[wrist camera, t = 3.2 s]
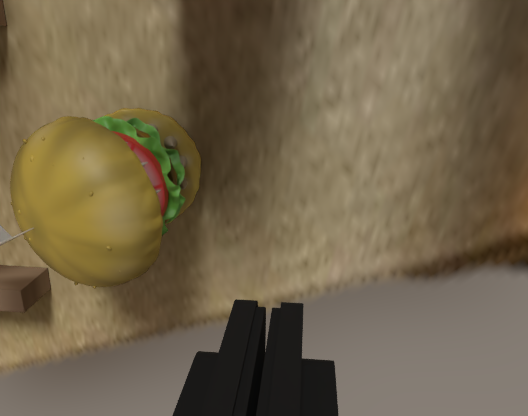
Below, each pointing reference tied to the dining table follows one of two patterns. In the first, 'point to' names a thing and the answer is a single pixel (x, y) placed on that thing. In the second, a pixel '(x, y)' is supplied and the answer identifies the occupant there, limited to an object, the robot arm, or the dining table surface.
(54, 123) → the hamburger
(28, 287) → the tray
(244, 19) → the dining table surface
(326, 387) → the robot arm
